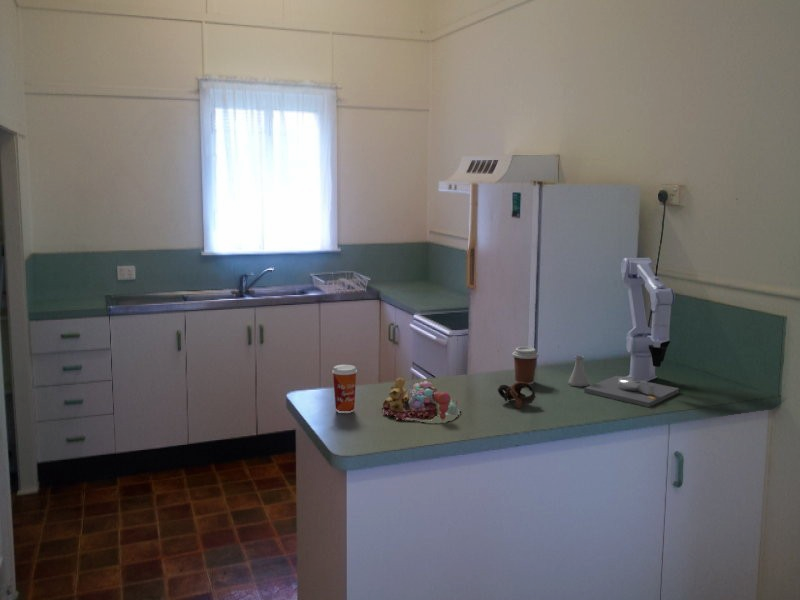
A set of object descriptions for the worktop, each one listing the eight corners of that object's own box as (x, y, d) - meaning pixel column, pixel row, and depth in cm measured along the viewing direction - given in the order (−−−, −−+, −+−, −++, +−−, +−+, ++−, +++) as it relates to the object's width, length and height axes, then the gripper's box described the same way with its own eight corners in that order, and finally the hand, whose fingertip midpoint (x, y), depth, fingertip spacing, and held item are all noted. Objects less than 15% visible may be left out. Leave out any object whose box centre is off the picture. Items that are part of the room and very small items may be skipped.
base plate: (616, 379, 272) (616, 374, 271) (678, 392, 256) (679, 387, 256) (584, 392, 256) (584, 387, 256) (648, 407, 240) (649, 402, 240)
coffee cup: (541, 381, 269) (542, 348, 267) (531, 387, 262) (532, 353, 259) (517, 377, 274) (518, 344, 272) (507, 383, 266) (508, 349, 264)
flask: (587, 381, 269) (588, 354, 267) (590, 387, 261) (591, 359, 260) (566, 381, 269) (567, 353, 267) (569, 387, 262) (570, 358, 260)
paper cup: (338, 416, 230) (337, 371, 228) (328, 409, 237) (328, 365, 234) (361, 412, 234) (361, 368, 231) (351, 405, 240) (351, 362, 238)
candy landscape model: (374, 421, 227) (374, 391, 225) (387, 398, 249) (388, 371, 248) (458, 426, 223) (459, 396, 221) (464, 402, 246) (464, 374, 244)
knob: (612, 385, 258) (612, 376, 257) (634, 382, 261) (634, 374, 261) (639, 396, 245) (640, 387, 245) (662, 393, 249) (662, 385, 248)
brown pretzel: (532, 401, 248) (539, 383, 243) (528, 421, 241) (535, 404, 235) (497, 390, 249) (502, 372, 244) (491, 410, 242) (497, 392, 237)
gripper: (651, 319, 262) (649, 357, 265) (644, 327, 249) (642, 367, 252) (673, 321, 259) (670, 360, 262) (667, 329, 246) (664, 369, 249)
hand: (658, 363), depth 257 cm, fingers open, 7 cm apart
